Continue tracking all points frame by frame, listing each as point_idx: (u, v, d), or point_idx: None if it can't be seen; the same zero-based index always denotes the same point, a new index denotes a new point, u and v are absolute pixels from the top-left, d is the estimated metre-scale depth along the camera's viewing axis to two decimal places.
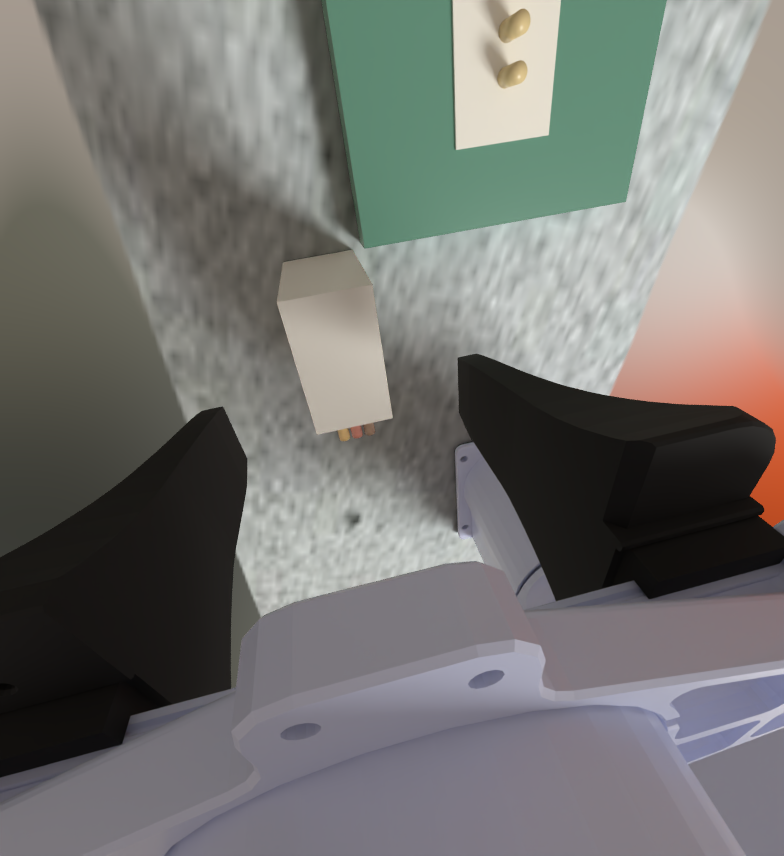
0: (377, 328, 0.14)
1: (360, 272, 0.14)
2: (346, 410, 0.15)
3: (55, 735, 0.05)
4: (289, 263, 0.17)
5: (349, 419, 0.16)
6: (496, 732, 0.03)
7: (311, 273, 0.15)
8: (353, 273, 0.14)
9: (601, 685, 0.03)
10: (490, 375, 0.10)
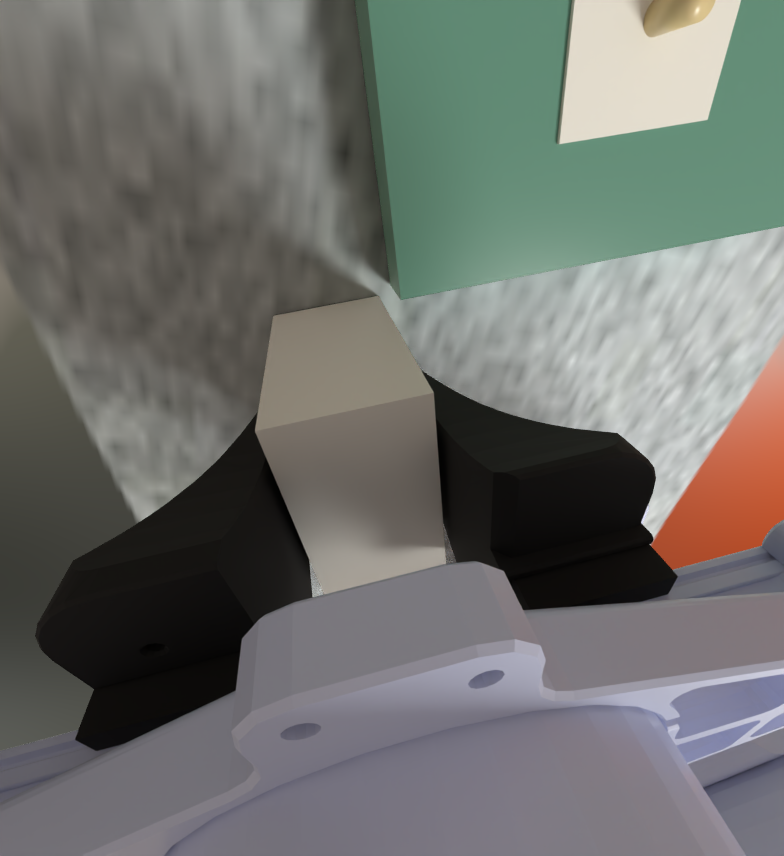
0: (435, 457, 0.08)
1: (402, 353, 0.08)
2: (375, 567, 0.10)
3: (205, 694, 0.05)
4: (282, 319, 0.11)
5: (379, 578, 0.10)
6: (496, 732, 0.03)
7: (318, 348, 0.09)
8: (390, 355, 0.08)
9: (601, 685, 0.03)
10: None
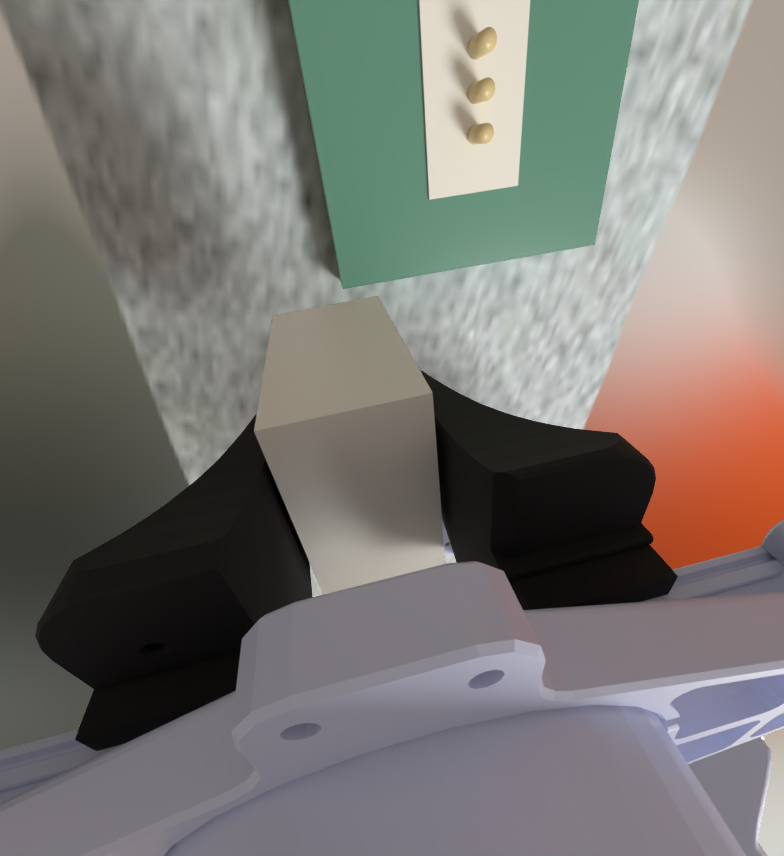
0: (434, 458, 0.08)
1: (401, 353, 0.08)
2: (374, 567, 0.10)
3: (205, 694, 0.05)
4: (282, 320, 0.11)
5: (378, 577, 0.10)
6: (496, 732, 0.03)
7: (317, 348, 0.09)
8: (389, 355, 0.08)
9: (601, 685, 0.03)
10: None
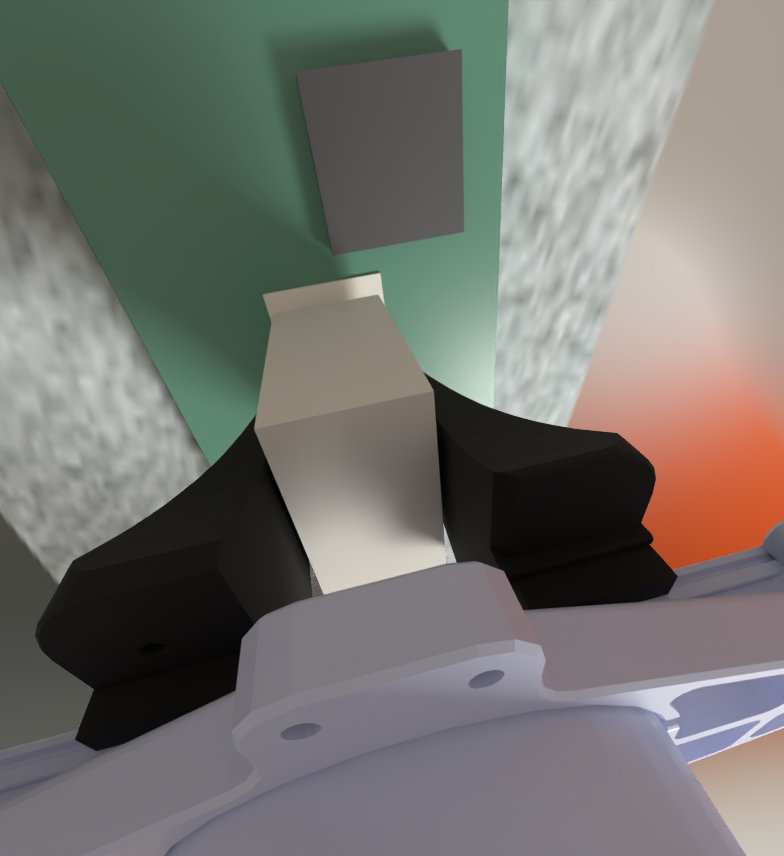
0: (435, 456, 0.08)
1: (402, 351, 0.08)
2: (374, 566, 0.09)
3: (205, 694, 0.05)
4: (282, 318, 0.11)
5: (379, 577, 0.10)
6: (496, 732, 0.03)
7: (317, 346, 0.09)
8: (390, 353, 0.08)
9: (600, 685, 0.03)
10: None
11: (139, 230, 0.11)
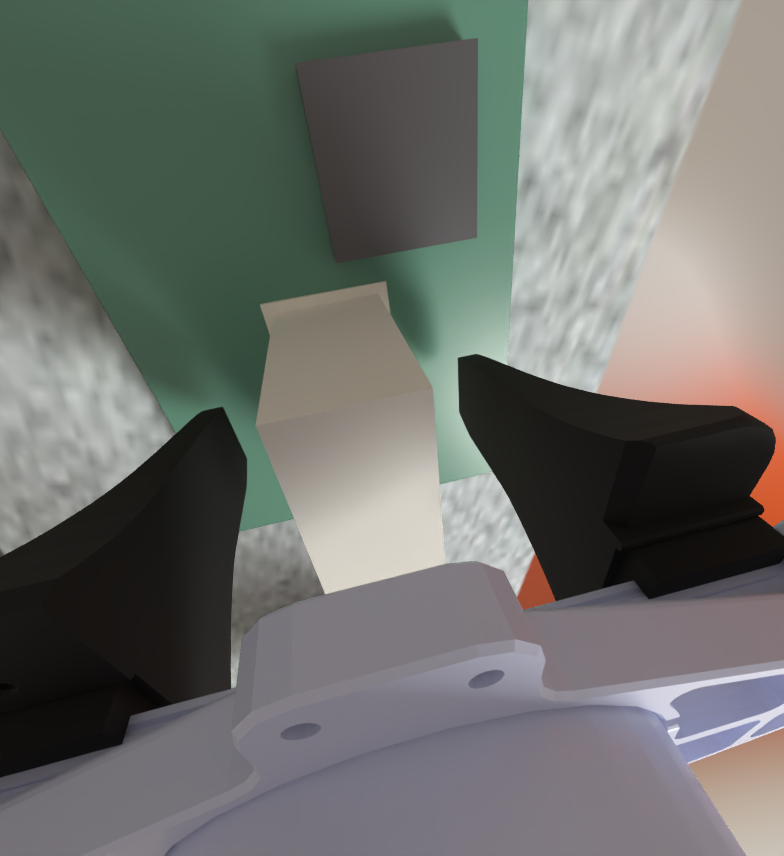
0: (434, 453, 0.08)
1: (402, 350, 0.08)
2: (375, 562, 0.10)
3: (55, 735, 0.05)
4: (283, 317, 0.11)
5: (378, 573, 0.10)
6: (495, 732, 0.03)
7: (318, 344, 0.09)
8: (390, 351, 0.08)
9: (600, 685, 0.03)
10: (490, 375, 0.10)
11: (125, 236, 0.10)
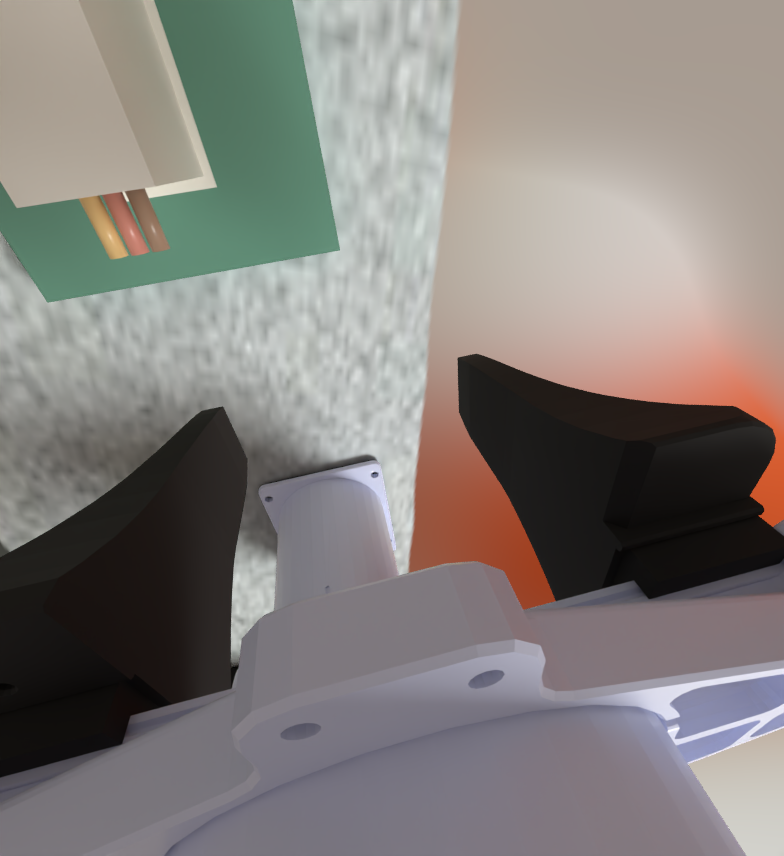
0: None
1: None
2: (56, 154, 0.09)
3: (56, 735, 0.05)
4: None
5: (70, 178, 0.09)
6: (496, 732, 0.03)
7: None
8: None
9: (600, 684, 0.03)
10: (490, 375, 0.10)
11: None
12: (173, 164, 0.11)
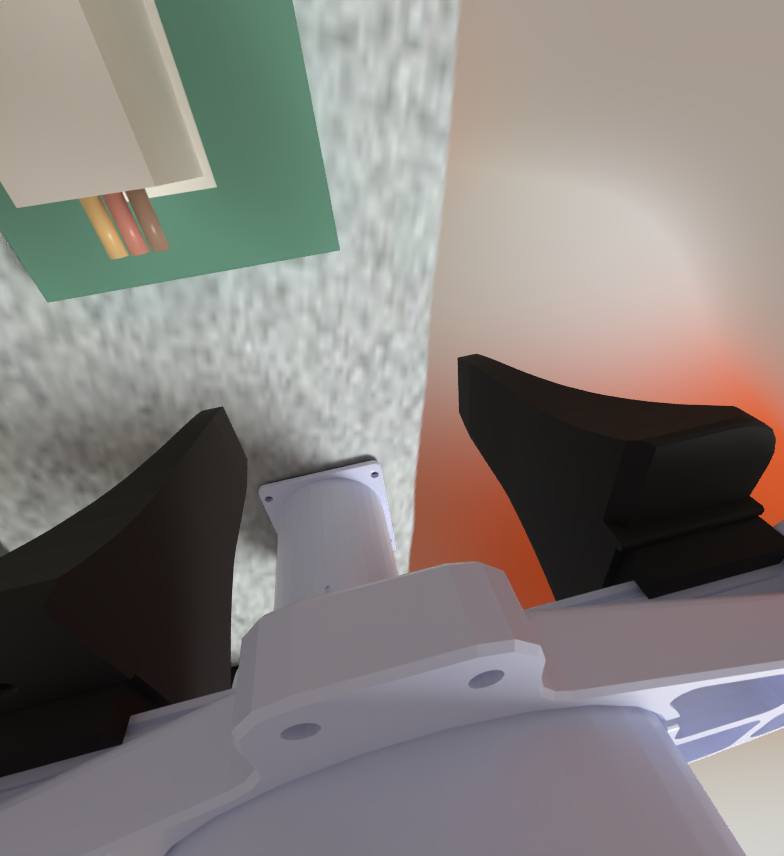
0: None
1: None
2: (56, 154, 0.09)
3: (56, 735, 0.05)
4: None
5: (70, 178, 0.09)
6: (496, 732, 0.03)
7: None
8: None
9: (600, 684, 0.03)
10: (490, 375, 0.10)
11: None
12: (173, 164, 0.11)
